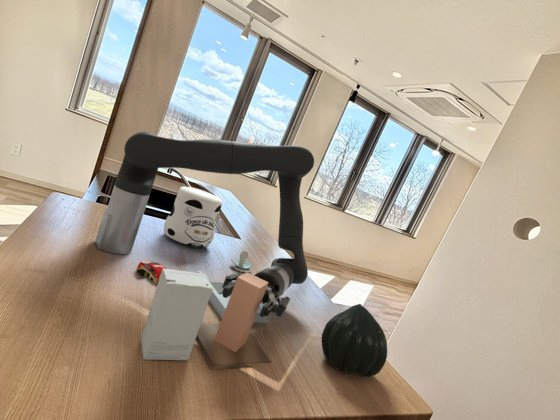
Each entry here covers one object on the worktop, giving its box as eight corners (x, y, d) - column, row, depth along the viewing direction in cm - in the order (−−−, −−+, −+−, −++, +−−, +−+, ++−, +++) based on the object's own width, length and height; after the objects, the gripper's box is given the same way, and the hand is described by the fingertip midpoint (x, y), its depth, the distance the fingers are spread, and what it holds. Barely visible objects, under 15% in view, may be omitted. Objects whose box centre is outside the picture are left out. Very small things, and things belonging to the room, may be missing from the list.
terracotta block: (214, 340, 72) (237, 277, 70) (225, 331, 77) (247, 272, 75) (235, 352, 71) (260, 288, 69) (245, 342, 76) (268, 282, 74)
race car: (180, 294, 89) (185, 279, 89) (162, 297, 85) (167, 281, 84) (151, 269, 97) (155, 256, 96) (132, 270, 92) (137, 256, 92)
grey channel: (222, 324, 82) (227, 311, 81) (193, 282, 98) (197, 271, 97) (265, 326, 89) (270, 313, 88) (232, 286, 105) (236, 275, 104)
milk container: (194, 255, 118) (212, 204, 115) (150, 235, 122) (167, 184, 119) (217, 247, 135) (233, 202, 132) (177, 229, 138) (192, 185, 136)
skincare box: (182, 342, 70) (207, 273, 68) (188, 363, 65) (215, 288, 63) (137, 339, 66) (162, 265, 64) (140, 361, 61) (167, 281, 59)
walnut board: (211, 369, 65) (213, 363, 65) (188, 328, 76) (190, 322, 76) (269, 366, 73) (271, 361, 73) (241, 329, 83) (243, 324, 83)
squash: (390, 381, 74) (401, 312, 82) (320, 353, 75) (338, 289, 84) (369, 391, 85) (380, 330, 94) (309, 367, 87) (325, 309, 95)
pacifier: (253, 274, 122) (245, 266, 126) (260, 258, 121) (252, 250, 125) (235, 272, 117) (227, 264, 122) (241, 255, 116) (234, 247, 121)
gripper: (249, 257, 89) (219, 270, 73) (302, 282, 85) (282, 301, 69) (239, 285, 90) (207, 303, 74) (291, 311, 86) (268, 336, 70)
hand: (243, 302), depth 72 cm, fingers open, 8 cm apart
